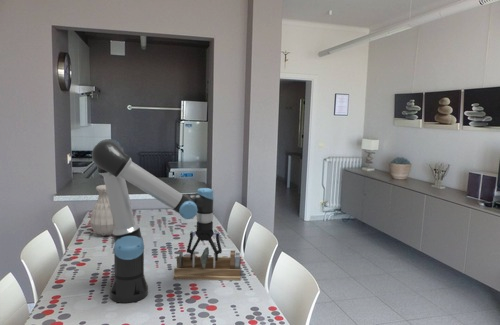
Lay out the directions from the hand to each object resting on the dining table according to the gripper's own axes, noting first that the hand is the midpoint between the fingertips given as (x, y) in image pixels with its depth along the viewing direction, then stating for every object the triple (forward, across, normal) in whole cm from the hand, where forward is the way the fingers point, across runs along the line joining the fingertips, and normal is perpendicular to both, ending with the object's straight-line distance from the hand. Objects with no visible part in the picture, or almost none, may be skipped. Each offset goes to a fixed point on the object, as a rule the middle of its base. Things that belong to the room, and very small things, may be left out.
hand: (204, 266), depth 180 cm
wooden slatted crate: (+4, -2, 0) cm, 4 cm away
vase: (+4, +67, -60) cm, 90 cm away
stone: (0, -1, +1) cm, 1 cm away
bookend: (+3, +11, 0) cm, 11 cm away
